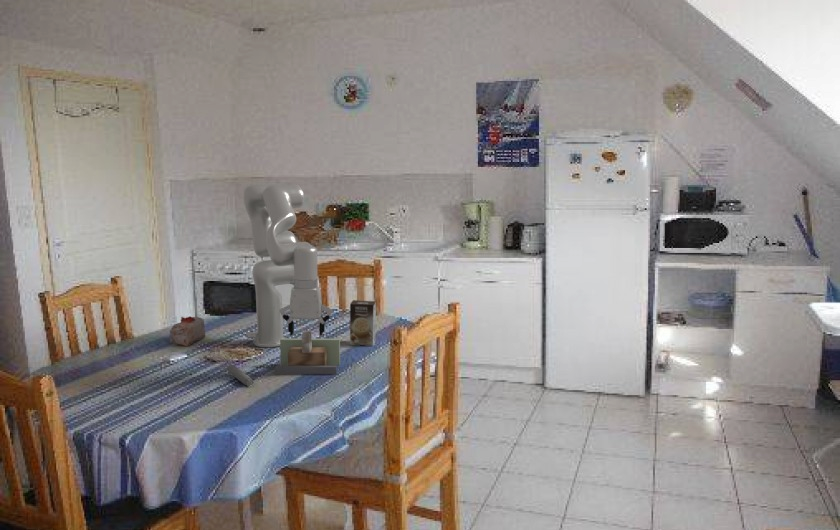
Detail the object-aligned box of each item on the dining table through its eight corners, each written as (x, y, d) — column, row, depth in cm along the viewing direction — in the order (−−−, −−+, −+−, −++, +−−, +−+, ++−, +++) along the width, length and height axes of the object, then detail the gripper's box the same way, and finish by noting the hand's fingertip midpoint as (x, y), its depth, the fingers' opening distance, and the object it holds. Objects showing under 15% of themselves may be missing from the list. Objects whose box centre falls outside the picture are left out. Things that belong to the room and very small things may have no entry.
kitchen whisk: (244, 391, 203) (243, 371, 202) (202, 364, 229) (201, 346, 228) (262, 387, 207) (262, 367, 205) (219, 360, 232) (218, 343, 231)
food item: (187, 347, 246) (186, 322, 244) (168, 346, 248) (167, 320, 246) (207, 337, 259) (206, 313, 257) (189, 336, 261) (188, 312, 259)
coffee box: (349, 345, 250) (348, 303, 247) (352, 340, 256) (352, 300, 253) (373, 346, 249) (373, 304, 246) (376, 341, 255) (376, 300, 253)
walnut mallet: (288, 373, 219) (287, 335, 217) (291, 366, 225) (290, 329, 223) (324, 373, 219) (324, 335, 217) (327, 366, 225) (326, 329, 223)
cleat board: (275, 374, 218) (274, 347, 216) (281, 363, 228) (280, 338, 226) (336, 374, 218) (336, 347, 216) (340, 364, 228) (339, 338, 227)
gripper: (276, 285, 213) (278, 337, 216) (331, 286, 213) (331, 338, 217) (281, 280, 221) (282, 330, 224) (333, 281, 221) (334, 331, 224)
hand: (306, 334), depth 220 cm, fingers open, 9 cm apart
